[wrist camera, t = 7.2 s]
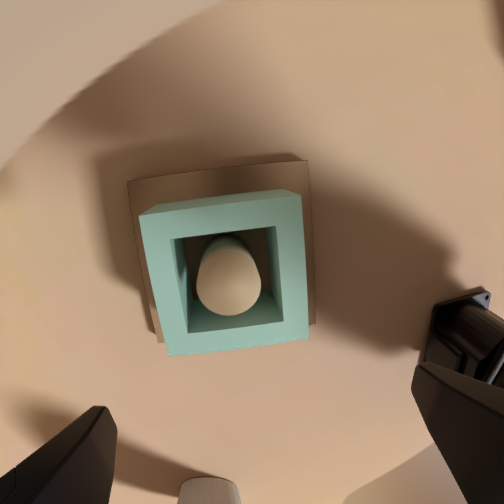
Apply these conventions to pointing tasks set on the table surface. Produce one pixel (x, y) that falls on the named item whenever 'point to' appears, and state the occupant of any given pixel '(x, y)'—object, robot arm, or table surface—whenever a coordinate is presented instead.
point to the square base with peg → (225, 235)
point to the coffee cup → (208, 491)
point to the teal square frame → (269, 302)
